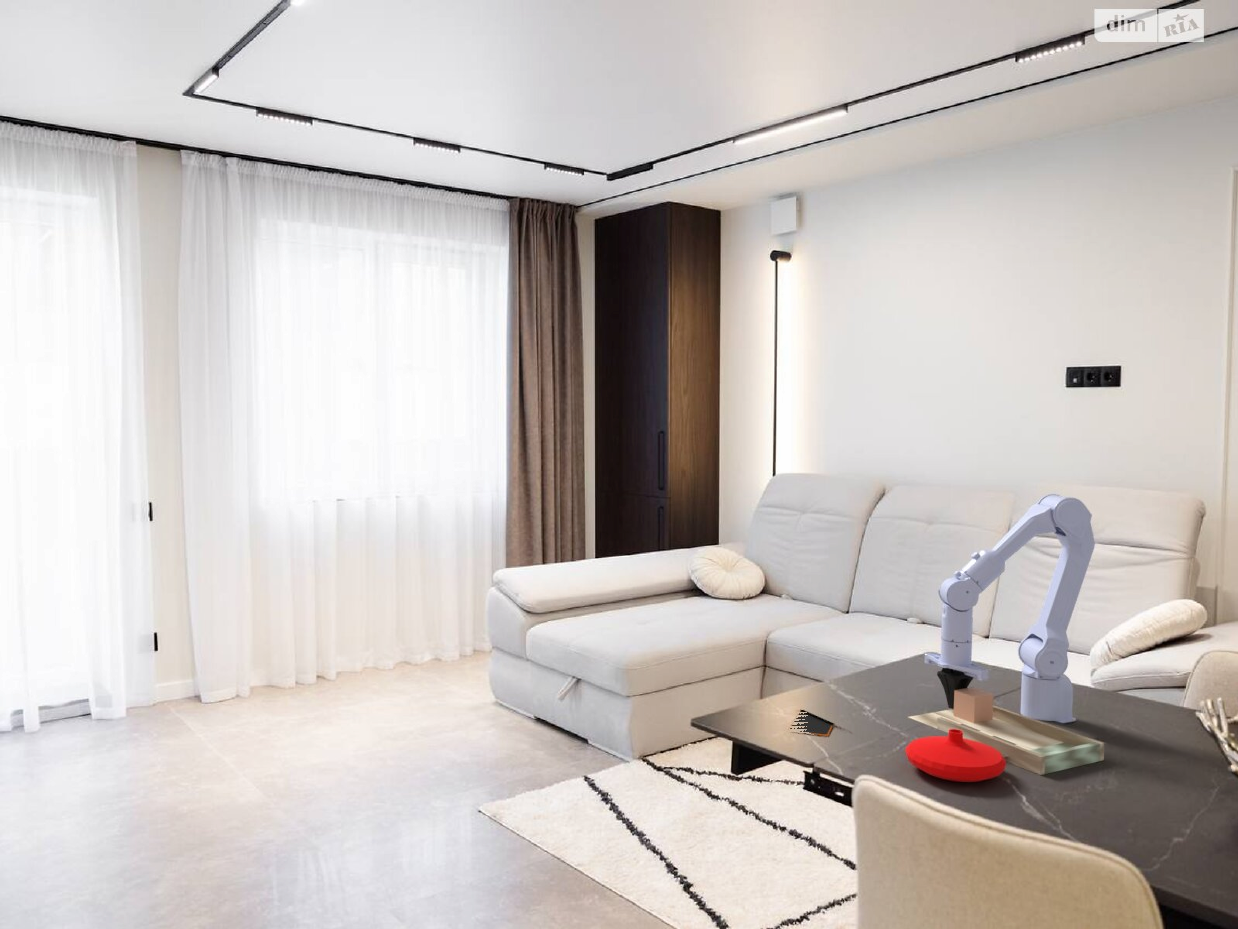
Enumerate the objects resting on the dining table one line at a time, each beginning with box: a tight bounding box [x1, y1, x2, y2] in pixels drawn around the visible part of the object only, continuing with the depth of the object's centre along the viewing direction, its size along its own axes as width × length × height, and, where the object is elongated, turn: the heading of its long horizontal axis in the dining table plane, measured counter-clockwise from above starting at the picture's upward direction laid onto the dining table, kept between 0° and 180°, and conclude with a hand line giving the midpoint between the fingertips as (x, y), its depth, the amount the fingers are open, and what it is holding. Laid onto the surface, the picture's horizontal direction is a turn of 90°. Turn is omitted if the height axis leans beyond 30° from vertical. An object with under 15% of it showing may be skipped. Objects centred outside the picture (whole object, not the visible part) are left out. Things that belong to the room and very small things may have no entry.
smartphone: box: [789, 709, 835, 738], centre depth 181 cm, size 8×17×1 cm, turn 159°
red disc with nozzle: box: [904, 729, 1007, 783], centre depth 155 cm, size 16×16×7 cm
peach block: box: [954, 686, 994, 723], centre depth 181 cm, size 5×5×5 cm
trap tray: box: [907, 704, 1105, 776], centre depth 172 cm, size 16×30×3 cm, turn 27°
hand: (954, 707), depth 185 cm, fingers closed
